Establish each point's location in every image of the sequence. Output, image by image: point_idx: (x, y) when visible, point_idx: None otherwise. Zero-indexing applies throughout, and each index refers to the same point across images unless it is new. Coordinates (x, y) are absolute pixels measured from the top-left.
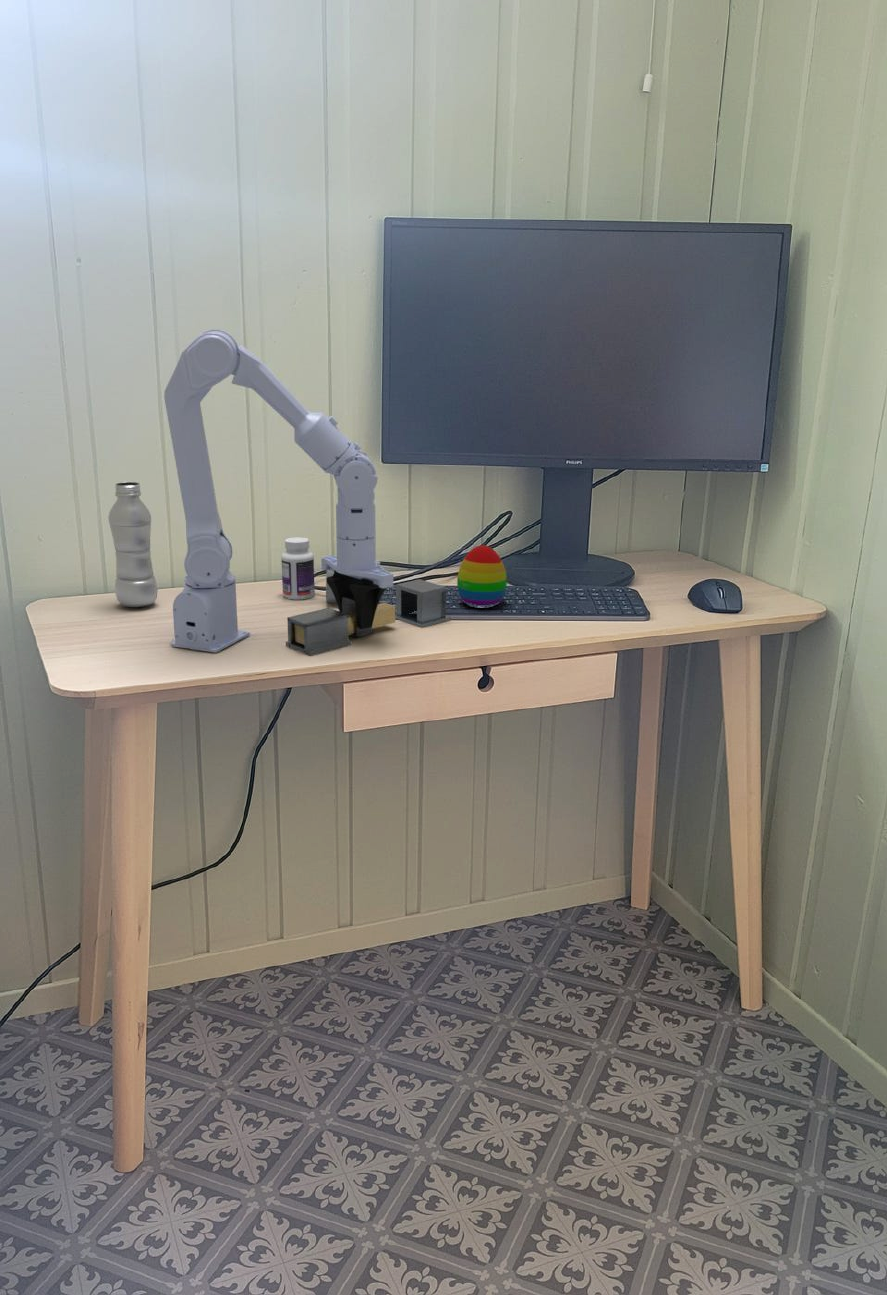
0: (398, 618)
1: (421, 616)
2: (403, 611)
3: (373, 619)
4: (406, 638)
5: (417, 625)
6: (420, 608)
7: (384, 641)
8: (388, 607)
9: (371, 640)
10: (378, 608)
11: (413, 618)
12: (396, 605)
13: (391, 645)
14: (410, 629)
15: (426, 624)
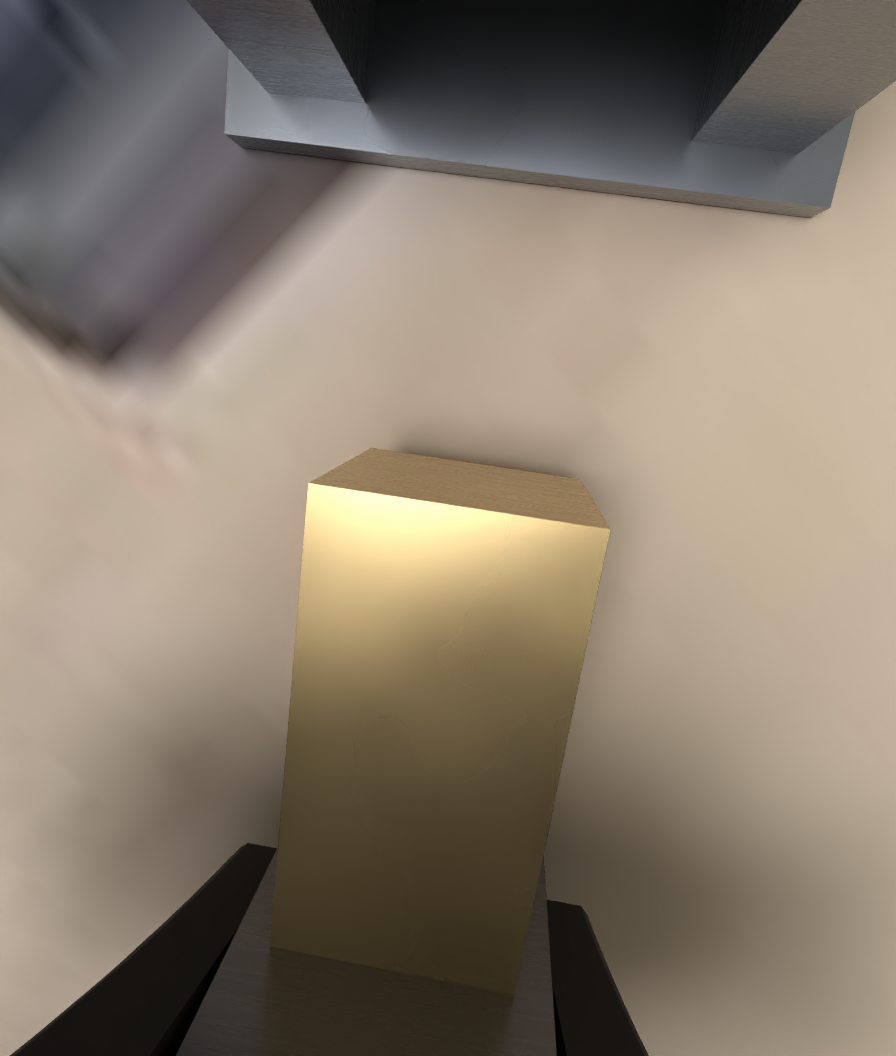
0: (363, 158)
1: (819, 115)
2: (359, 26)
3: (608, 973)
4: (877, 644)
5: (728, 207)
6: (866, 59)
7: (739, 834)
8: (565, 663)
9: (619, 875)
10: (476, 798)
11: (569, 68)
12: (219, 27)
13: (870, 882)
14: (726, 370)
15: (842, 121)
